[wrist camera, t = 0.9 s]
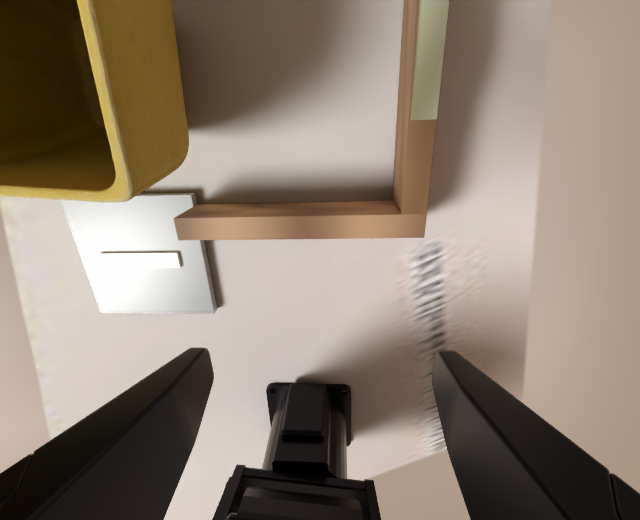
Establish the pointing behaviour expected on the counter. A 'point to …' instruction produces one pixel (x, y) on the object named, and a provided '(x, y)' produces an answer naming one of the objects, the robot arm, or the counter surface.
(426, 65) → the wooden tray frame
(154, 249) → the tile
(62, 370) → the counter surface
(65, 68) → the flower pot
